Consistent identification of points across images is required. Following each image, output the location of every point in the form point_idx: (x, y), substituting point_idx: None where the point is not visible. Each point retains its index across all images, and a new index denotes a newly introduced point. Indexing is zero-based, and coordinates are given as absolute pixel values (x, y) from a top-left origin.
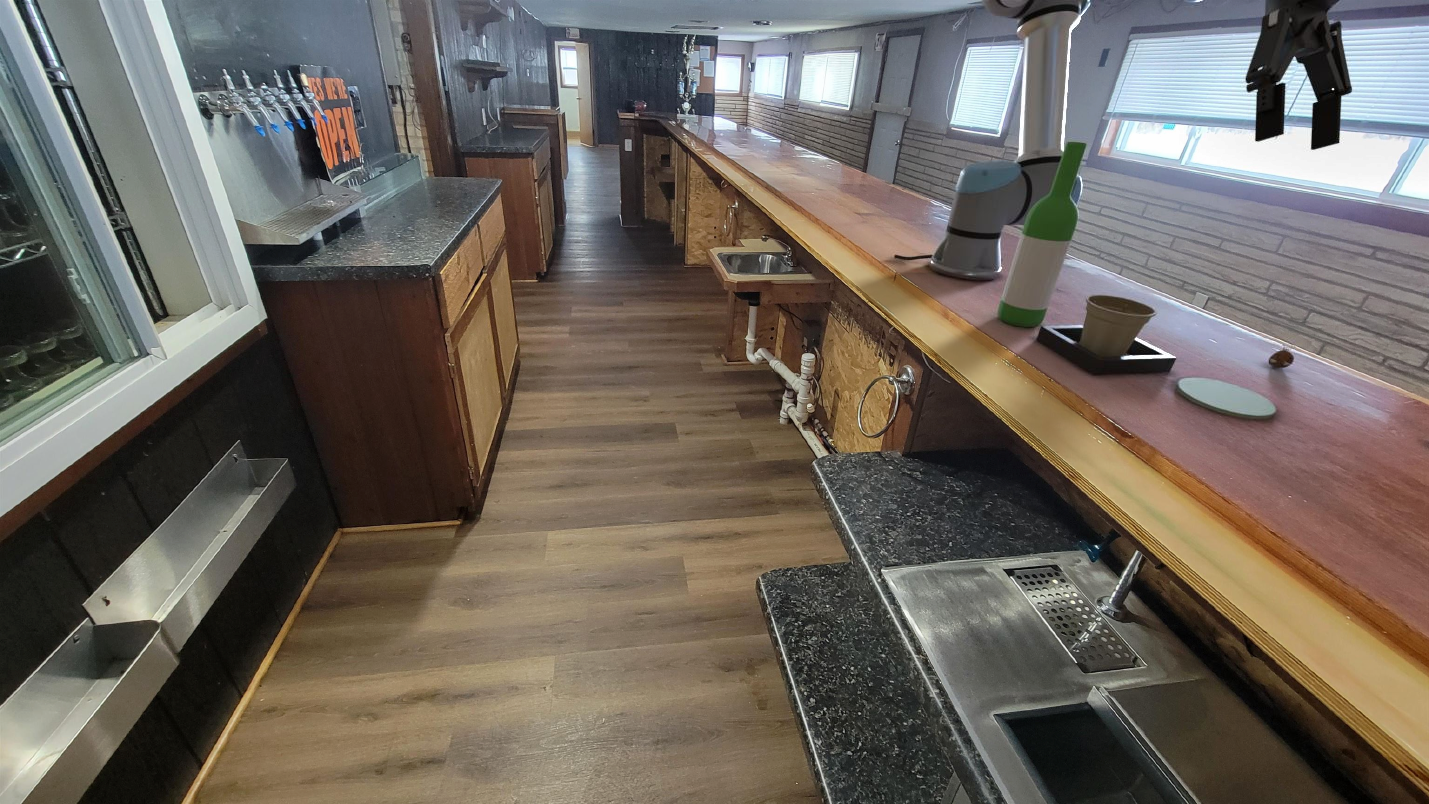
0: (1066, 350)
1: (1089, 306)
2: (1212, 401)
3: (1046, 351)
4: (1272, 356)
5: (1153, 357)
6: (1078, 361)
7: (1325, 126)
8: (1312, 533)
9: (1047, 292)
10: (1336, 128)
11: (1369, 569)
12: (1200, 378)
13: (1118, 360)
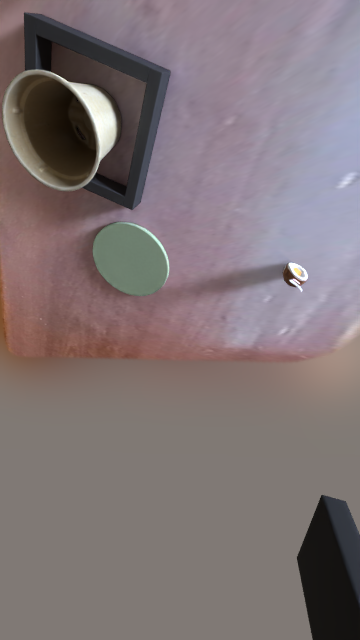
0: None
1: (11, 101)
2: (103, 259)
3: None
4: (286, 268)
5: (102, 194)
6: None
7: (331, 622)
8: (22, 329)
9: None
10: (312, 622)
11: (24, 345)
12: (145, 234)
13: None
